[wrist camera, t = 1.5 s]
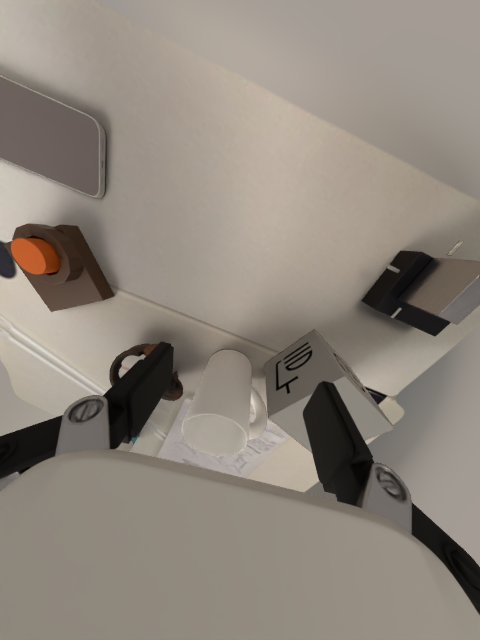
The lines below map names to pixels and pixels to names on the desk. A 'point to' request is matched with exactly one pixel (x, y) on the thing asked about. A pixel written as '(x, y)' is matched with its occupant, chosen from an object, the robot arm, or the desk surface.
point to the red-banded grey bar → (446, 289)
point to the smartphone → (51, 139)
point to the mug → (224, 407)
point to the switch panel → (396, 283)
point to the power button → (35, 255)
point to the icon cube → (301, 381)
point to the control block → (65, 268)
